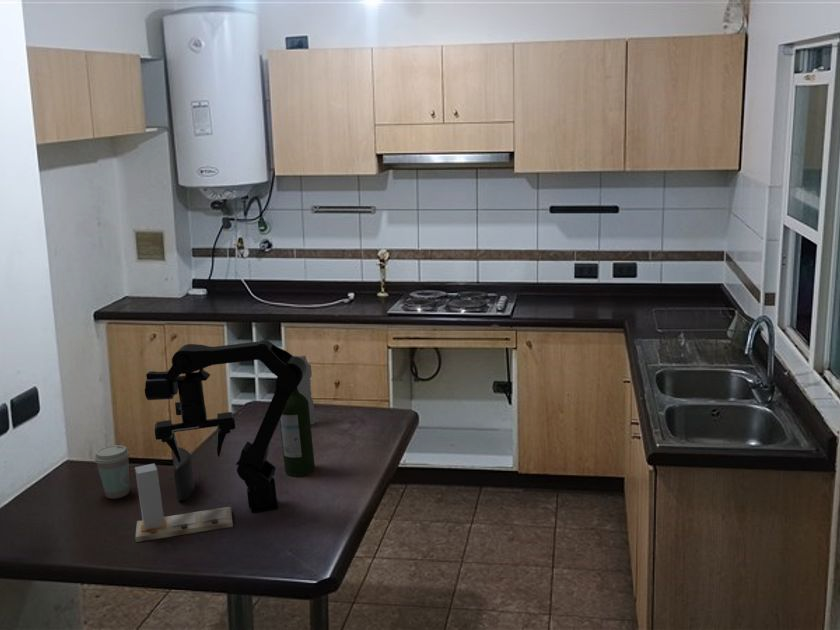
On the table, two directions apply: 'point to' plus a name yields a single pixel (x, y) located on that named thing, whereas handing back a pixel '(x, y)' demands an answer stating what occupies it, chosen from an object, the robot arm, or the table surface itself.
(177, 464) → the leaning round-cornered charcoal block
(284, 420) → the wine bottle
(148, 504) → the block
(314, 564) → the table surface
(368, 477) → the table surface
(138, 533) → the switch board
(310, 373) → the tall pale column
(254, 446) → the robot arm
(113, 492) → the coffee cup
